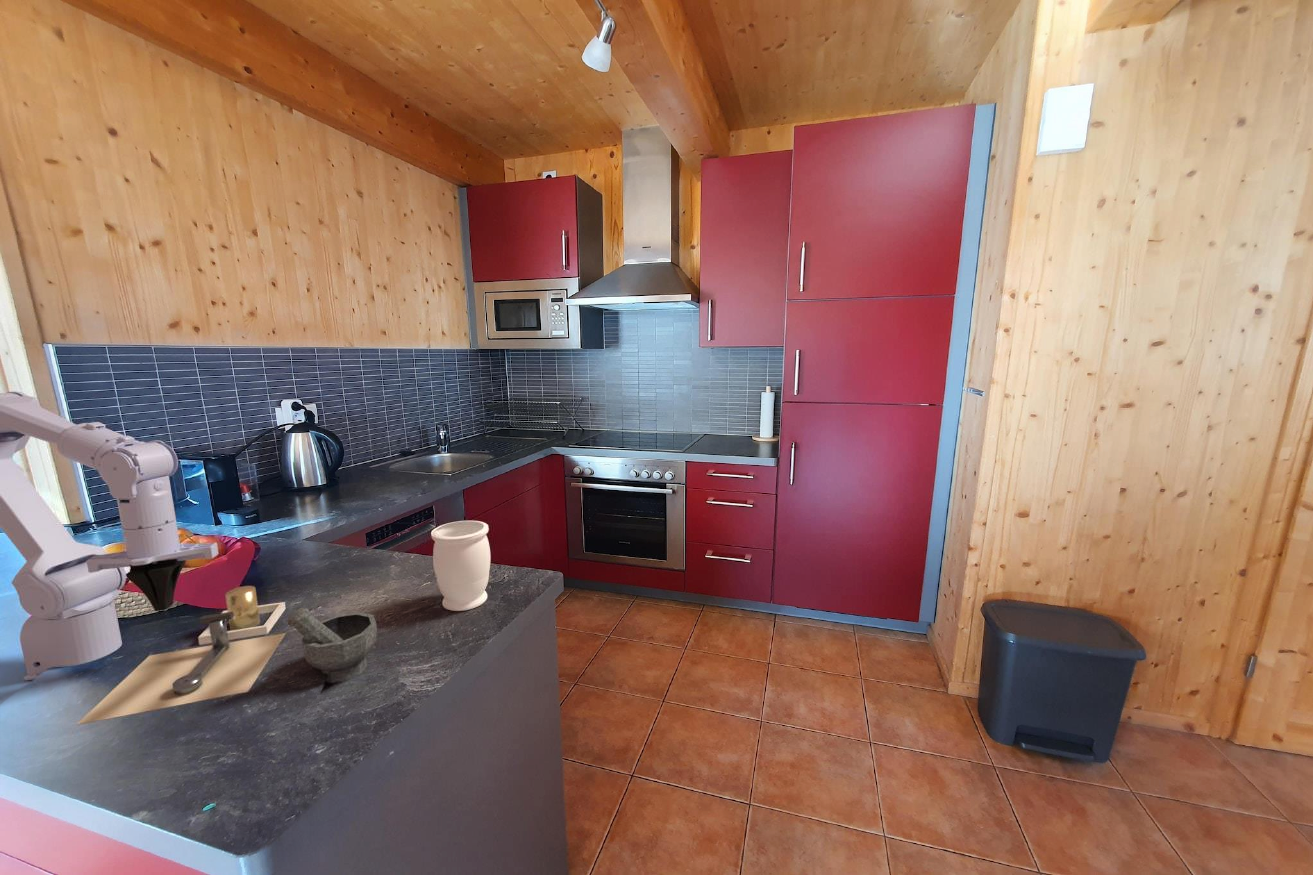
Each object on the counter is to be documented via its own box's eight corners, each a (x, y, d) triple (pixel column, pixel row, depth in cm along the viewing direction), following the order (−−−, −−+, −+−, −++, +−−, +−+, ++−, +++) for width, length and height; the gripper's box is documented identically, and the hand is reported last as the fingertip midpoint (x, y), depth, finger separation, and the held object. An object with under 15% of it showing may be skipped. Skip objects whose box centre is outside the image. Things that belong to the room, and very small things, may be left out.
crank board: (77, 733, 64) (75, 724, 63) (150, 662, 78) (149, 654, 78) (248, 699, 70) (247, 690, 70) (286, 639, 85) (285, 632, 85)
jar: (494, 608, 95) (490, 533, 93) (435, 619, 91) (429, 541, 89) (491, 585, 105) (487, 517, 102) (437, 594, 101) (432, 523, 99)
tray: (200, 651, 81) (198, 637, 81) (225, 623, 90) (223, 610, 89) (268, 640, 85) (266, 626, 84) (286, 614, 93) (284, 601, 93)
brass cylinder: (227, 637, 84) (222, 598, 83) (234, 625, 88) (229, 588, 87) (257, 631, 86) (252, 593, 85) (262, 620, 90) (257, 584, 89)
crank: (200, 690, 69) (194, 652, 69) (164, 697, 68) (157, 658, 67) (239, 643, 81) (234, 610, 80) (208, 648, 80) (203, 614, 79)
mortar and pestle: (363, 644, 83) (356, 577, 81) (392, 664, 78) (385, 592, 76) (284, 680, 74) (274, 605, 72) (310, 705, 69) (299, 624, 67)
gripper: (64, 538, 68) (83, 629, 71) (197, 525, 73) (210, 611, 76) (99, 522, 75) (115, 606, 77) (218, 511, 80) (230, 590, 82)
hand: (164, 607), depth 77 cm, fingers closed
